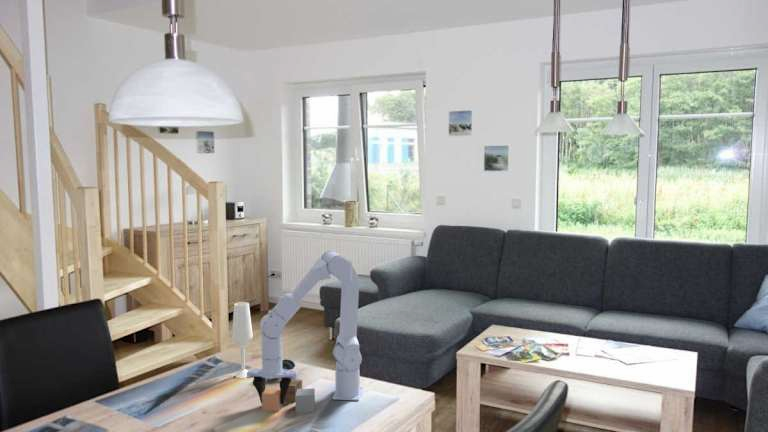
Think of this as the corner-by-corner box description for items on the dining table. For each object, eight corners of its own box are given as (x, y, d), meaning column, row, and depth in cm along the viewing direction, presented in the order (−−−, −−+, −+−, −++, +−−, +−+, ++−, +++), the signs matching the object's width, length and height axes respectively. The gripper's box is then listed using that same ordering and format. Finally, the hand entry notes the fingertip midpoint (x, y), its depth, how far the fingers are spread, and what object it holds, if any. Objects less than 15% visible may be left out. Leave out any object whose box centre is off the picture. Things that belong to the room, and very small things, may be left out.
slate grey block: (297, 405, 173) (297, 388, 172) (314, 405, 173) (314, 388, 172) (295, 412, 168) (295, 395, 167) (313, 412, 168) (313, 395, 167)
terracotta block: (267, 403, 174) (266, 387, 173) (283, 404, 173) (283, 387, 173) (262, 410, 169) (261, 393, 169) (279, 411, 169) (278, 394, 168)
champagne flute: (229, 374, 196) (227, 303, 194) (247, 369, 201) (245, 300, 198) (239, 380, 192) (237, 307, 189) (257, 375, 196) (256, 304, 194)
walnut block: (287, 394, 181) (286, 378, 180) (302, 395, 180) (302, 379, 179) (279, 400, 176) (279, 384, 176) (295, 402, 175) (295, 386, 174)
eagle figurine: (277, 383, 186) (299, 370, 192) (267, 363, 187) (288, 351, 194) (267, 390, 191) (289, 377, 198) (257, 370, 192) (278, 358, 199)
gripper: (242, 360, 166) (244, 407, 168) (293, 362, 165) (294, 409, 166) (250, 352, 173) (252, 397, 175) (299, 353, 172) (300, 399, 173)
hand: (273, 402), depth 171 cm, fingers open, 5 cm apart
